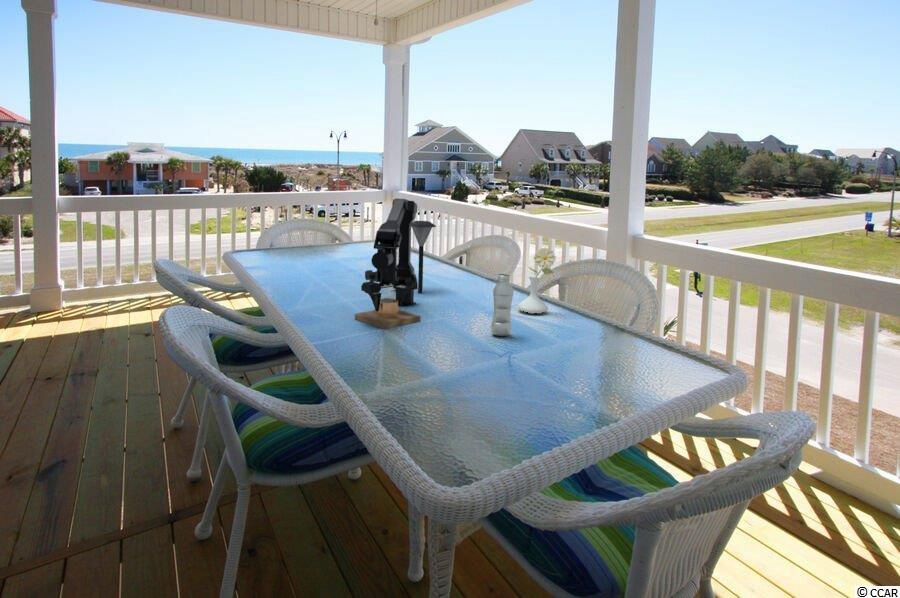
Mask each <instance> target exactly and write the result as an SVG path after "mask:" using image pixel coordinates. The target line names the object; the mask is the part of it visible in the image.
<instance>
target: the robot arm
mask: <svg viewBox="0 0 900 598" xmlns="http://www.w3.org/2000/svg"><path fill="white" fill-rule="evenodd" d="M417 213H418V204H417V203H416V202H415V201H414V200H408V199H406V198H394V199H393V200H392V206H391V209H390V212H389V214H388V217H387V219H386V221H385V222H383V223H382V224H381V225H380V226H379V228H378V230H377V231H376V233H375V238H374V243H373V249H374V250H377V251H376V252H375V253H374V254H373V255H372V257H371V265H372V266H373V268H375V269H376V271H373V270H372V269H370V270H369V269H368V270H365V271H364V278H365V280H366V281H364V282H362V284H361V286H360V287H361V291H362V292H364V293H365V294H368V295H369V297H370V299H371V301H372V305H373V308H374V310H376V311H379V307H380V300H381V299H382V292H381V290H382V289H386V288H387V289H388V288H392V289H395V299H396V300H398V308H400V307H401V306H402V307H407V306H412V305H416V304H417V302H416V301H415V299H414V298H415V297H414V296H415V292H414V291H415V290H418V278H417V274H415V267H414V266H413V265H412V263H411V262H412V261H411V258H412V257H411V254H412V253H411V252H412V251H411V249H412V247H411V246H412V227H411V224H412V222H414V221H415V219H416V217H417V216H416V215H417ZM397 250H398V251H397ZM397 252H398V255H397ZM397 256H398V257H397ZM397 259H398V260H397ZM397 262H398V263H397Z"/></svg>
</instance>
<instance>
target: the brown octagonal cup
mask: <svg viewBox="0 0 900 598" xmlns="http://www.w3.org/2000/svg"><path fill="white" fill-rule="evenodd" d="M382 299H383V298H381V300H380V307H379V311H377V316H380V317H396V316H398V309H399V307H398V300H396V298H392V299H393V302H390V303H389V302H382Z"/></svg>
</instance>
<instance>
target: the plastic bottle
mask: <svg viewBox="0 0 900 598" xmlns="http://www.w3.org/2000/svg"><path fill="white" fill-rule="evenodd" d="M510 281H511V274H507V273H499V274H498V275H497V284H495V286H494V287H493V290H492V291H493V292H492V295H493V312H492V313H493V315H492V320H491V325H490V332H491V334H492V335H493V336H498V337H506V336H509V335H510V334H511V331H512V321H511V319H512V318H511V317H512V316H511V315H512V314H511V311H512V309H511V308H512V302H513V299H514V298H513V297H514V293H515V291H514V288H513V286H512V284H511V283H510Z"/></svg>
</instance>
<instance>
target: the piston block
mask: <svg viewBox="0 0 900 598" xmlns="http://www.w3.org/2000/svg"><path fill="white" fill-rule="evenodd" d="M381 299H382V302H389V303H390V302H393V299H394V298H390V297H386V298H385V297H384V298H381ZM354 320H355V321H359V322H362V323H365V324H367V325H371V326H373V327H375V328H379V329H382V330H387V329H392V328H396V327H400V326H406V325H411V324H415V323H419V322H421V315H419V314H415V313H412V312H408V311H405V310H402V309H399V308H398V316H396V317H380V316H377V311H376V310H375V309H373V310H368V311H367V310H366V311H363V312H358V313H354Z"/></svg>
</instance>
